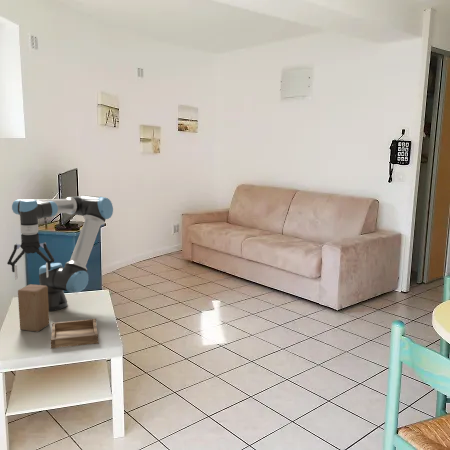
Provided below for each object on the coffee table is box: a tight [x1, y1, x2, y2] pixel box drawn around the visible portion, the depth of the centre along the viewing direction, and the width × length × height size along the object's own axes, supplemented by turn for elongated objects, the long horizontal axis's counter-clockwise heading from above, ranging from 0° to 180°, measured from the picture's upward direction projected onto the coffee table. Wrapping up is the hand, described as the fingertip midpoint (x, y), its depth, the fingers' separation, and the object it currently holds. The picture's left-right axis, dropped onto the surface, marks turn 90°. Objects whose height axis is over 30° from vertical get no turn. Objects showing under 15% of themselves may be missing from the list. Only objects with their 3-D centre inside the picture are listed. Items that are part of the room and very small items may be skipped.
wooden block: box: [17, 283, 50, 332], centre depth 226 cm, size 10×10×20 cm
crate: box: [50, 318, 100, 349], centre depth 218 cm, size 20×20×4 cm
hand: (32, 277), depth 223 cm, fingers open, 13 cm apart
